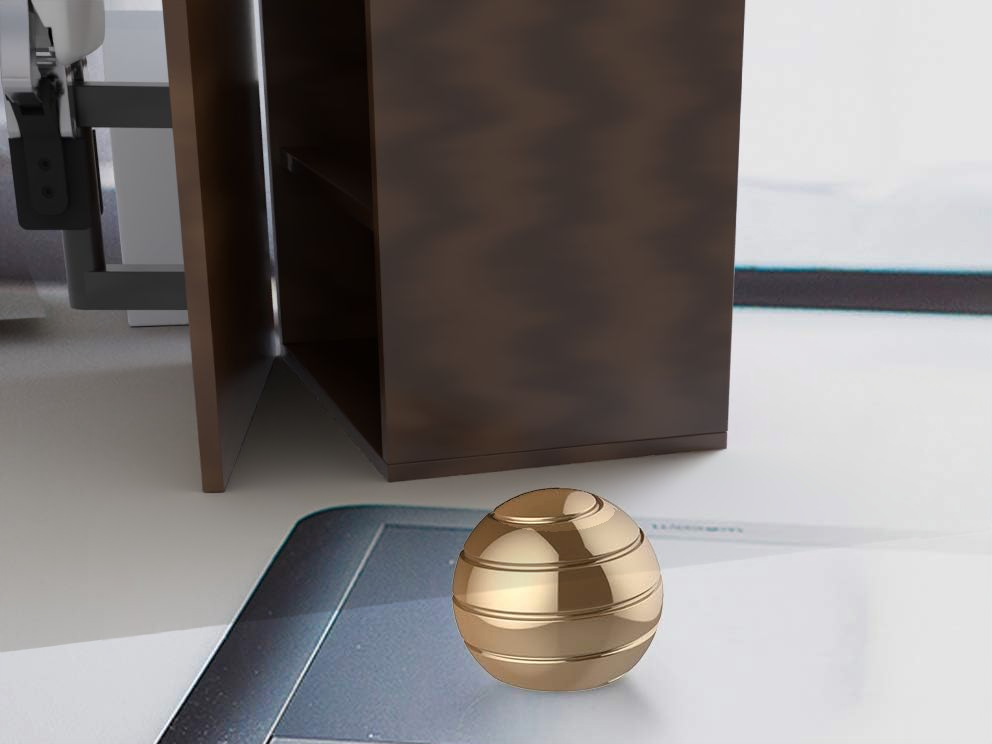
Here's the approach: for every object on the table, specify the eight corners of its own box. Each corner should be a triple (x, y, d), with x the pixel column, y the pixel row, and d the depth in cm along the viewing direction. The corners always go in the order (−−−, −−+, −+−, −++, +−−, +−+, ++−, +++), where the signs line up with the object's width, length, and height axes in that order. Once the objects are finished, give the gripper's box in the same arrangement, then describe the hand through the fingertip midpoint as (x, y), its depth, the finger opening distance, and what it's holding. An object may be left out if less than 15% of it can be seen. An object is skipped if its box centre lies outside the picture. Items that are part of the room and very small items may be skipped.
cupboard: (388, 484, 85) (367, -49, 75) (280, 356, 107) (253, -69, 97) (727, 450, 91) (748, -46, 82) (559, 336, 113) (560, -65, 103)
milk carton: (242, 324, 114) (220, 15, 106) (128, 329, 112) (98, 14, 105) (236, 301, 120) (215, 7, 113) (128, 305, 118) (100, 6, 111)
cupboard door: (73, 493, 82) (11, -52, 73) (159, 355, 106) (121, -69, 96) (224, 491, 83) (182, -48, 73) (276, 355, 106) (249, -66, 97)
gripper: (-35, -217, 80) (15, 195, 87) (-137, -238, 65) (-67, 257, 73) (134, -212, 81) (169, 195, 88) (70, -232, 66) (119, 257, 74)
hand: (62, 220), depth 80 cm, fingers closed on cupboard door, 2 cm apart
